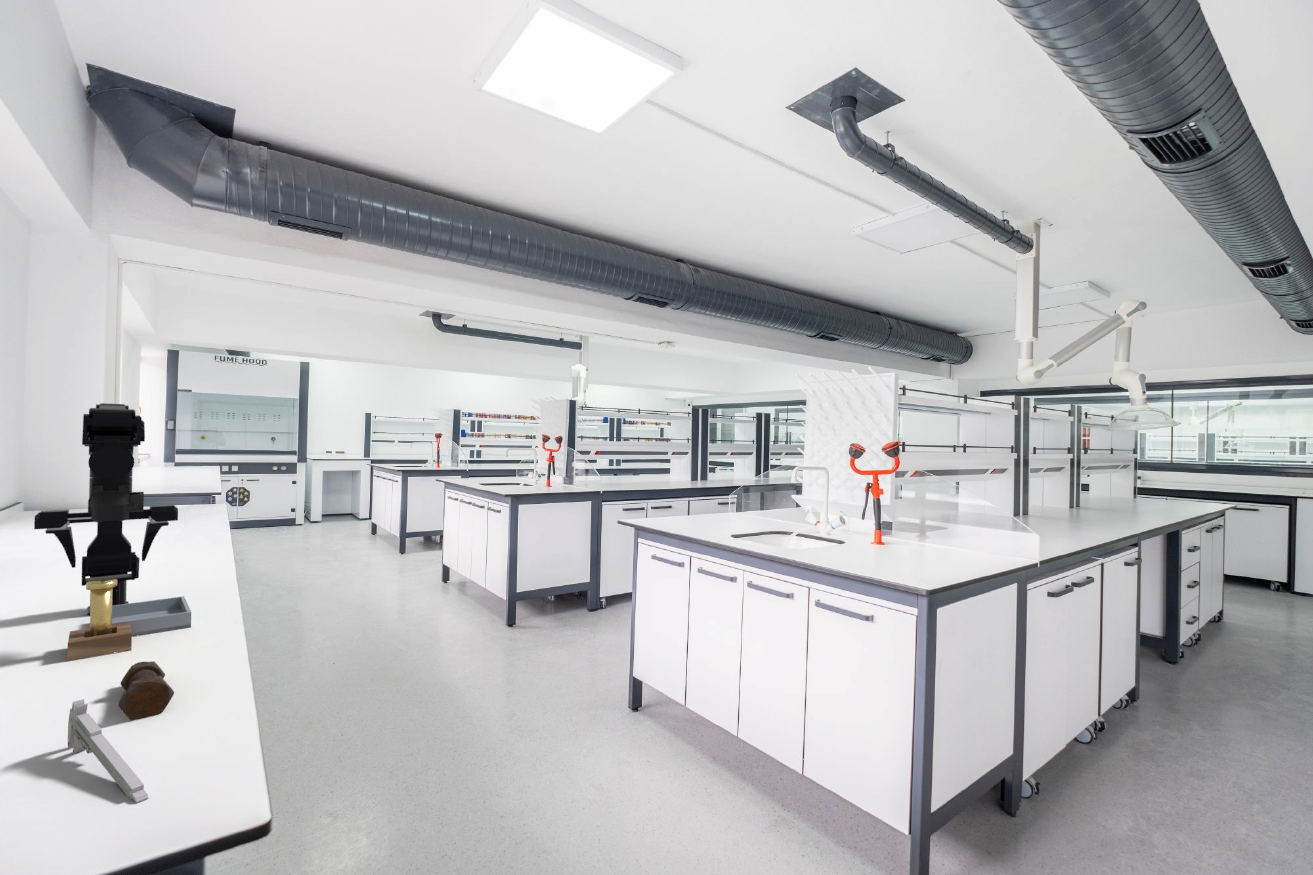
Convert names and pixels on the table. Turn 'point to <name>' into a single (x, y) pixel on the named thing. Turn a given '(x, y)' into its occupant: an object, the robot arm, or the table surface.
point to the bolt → (144, 691)
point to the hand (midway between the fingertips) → (109, 563)
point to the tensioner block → (99, 642)
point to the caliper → (101, 750)
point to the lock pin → (101, 606)
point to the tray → (153, 615)
